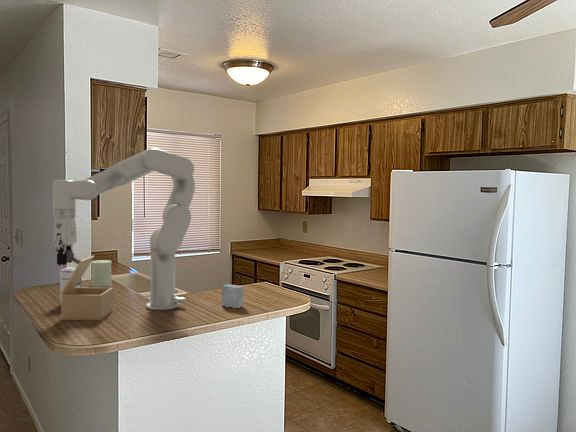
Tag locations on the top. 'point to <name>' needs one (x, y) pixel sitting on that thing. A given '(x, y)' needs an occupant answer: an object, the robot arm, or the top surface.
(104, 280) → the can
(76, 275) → the lid
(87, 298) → the wooden box
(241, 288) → the medicine box
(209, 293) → the top surface
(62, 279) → the syrup box
